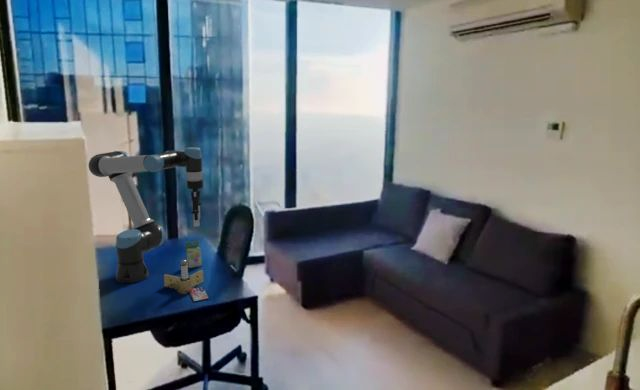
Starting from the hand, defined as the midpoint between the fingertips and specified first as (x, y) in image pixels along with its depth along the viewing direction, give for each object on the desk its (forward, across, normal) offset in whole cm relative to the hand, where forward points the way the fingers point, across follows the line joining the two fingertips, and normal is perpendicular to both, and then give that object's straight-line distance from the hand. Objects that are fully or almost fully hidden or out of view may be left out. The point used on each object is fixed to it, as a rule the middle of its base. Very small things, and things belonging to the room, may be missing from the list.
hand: (197, 222), depth 222 cm
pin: (+29, -16, +6) cm, 33 cm away
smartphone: (+29, -21, 0) cm, 36 cm away
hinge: (+29, -10, +6) cm, 31 cm away
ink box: (+29, +15, +3) cm, 33 cm away
